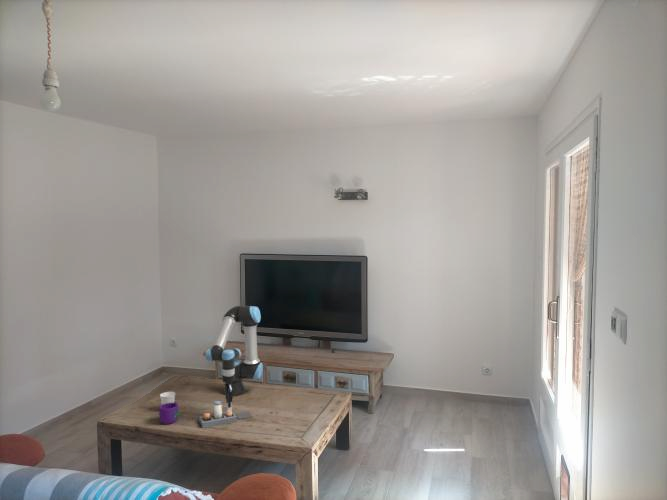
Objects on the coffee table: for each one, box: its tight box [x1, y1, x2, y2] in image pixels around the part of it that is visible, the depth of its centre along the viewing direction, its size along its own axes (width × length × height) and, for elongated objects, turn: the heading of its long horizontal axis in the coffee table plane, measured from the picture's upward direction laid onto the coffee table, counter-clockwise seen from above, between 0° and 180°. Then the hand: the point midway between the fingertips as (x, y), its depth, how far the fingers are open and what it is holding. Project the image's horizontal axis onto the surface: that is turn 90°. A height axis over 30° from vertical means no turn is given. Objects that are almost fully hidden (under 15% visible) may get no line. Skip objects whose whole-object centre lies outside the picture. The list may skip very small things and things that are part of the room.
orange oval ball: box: [225, 411, 232, 417], centre depth 305 cm, size 4×4×3 cm
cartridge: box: [213, 399, 223, 420], centre depth 301 cm, size 5×5×12 cm
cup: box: [159, 391, 176, 405], centre depth 321 cm, size 10×10×11 cm
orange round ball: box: [203, 412, 211, 420], centre depth 298 cm, size 4×4×3 cm
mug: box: [158, 401, 179, 425], centre depth 306 cm, size 17×11×10 cm, turn 171°
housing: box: [198, 410, 238, 429], centre depth 302 cm, size 21×11×3 cm, turn 116°
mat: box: [234, 411, 254, 420], centre depth 311 cm, size 9×9×1 cm
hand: (229, 411), depth 304 cm, fingers closed, pressing on orange oval ball
